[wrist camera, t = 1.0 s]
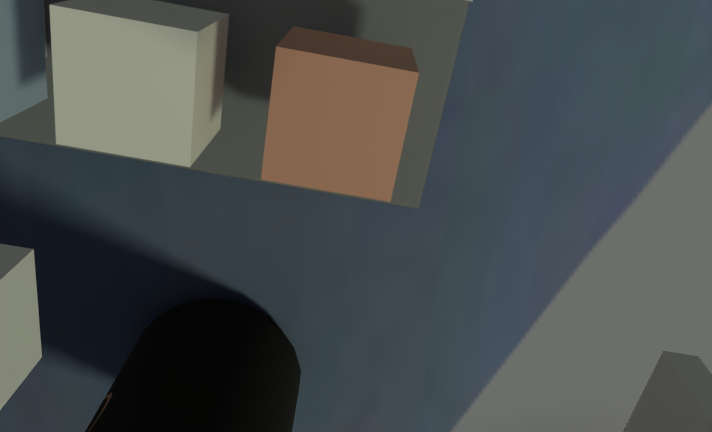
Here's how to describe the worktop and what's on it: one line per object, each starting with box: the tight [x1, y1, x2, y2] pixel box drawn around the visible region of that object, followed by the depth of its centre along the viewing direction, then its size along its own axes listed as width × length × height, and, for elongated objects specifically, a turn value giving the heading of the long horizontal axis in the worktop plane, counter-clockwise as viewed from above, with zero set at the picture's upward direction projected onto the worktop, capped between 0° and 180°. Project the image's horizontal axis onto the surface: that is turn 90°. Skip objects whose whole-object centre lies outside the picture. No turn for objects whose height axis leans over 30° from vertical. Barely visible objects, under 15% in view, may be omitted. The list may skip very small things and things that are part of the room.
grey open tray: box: [0, 0, 473, 209], centre depth 28 cm, size 26×12×6 cm, turn 80°
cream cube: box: [49, 0, 229, 167], centre depth 24 cm, size 5×5×5 cm
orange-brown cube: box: [261, 26, 419, 202], centre depth 25 cm, size 5×5×5 cm
